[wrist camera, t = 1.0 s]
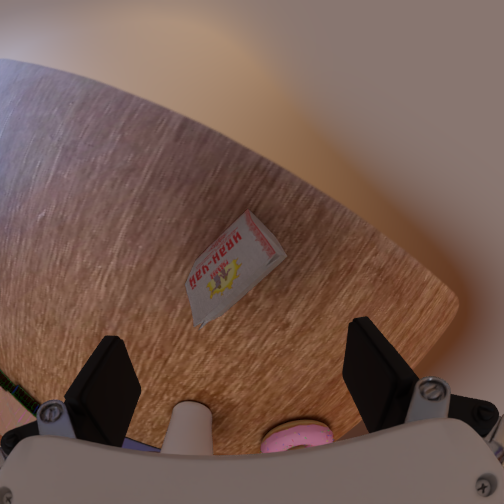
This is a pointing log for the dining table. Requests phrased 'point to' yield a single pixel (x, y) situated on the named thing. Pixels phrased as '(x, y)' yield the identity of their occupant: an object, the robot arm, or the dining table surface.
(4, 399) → the house
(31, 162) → the dining table surface
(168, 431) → the drinking glass
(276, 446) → the doughnut
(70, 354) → the dining table surface
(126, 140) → the dining table surface
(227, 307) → the tea bag
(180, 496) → the robot arm
